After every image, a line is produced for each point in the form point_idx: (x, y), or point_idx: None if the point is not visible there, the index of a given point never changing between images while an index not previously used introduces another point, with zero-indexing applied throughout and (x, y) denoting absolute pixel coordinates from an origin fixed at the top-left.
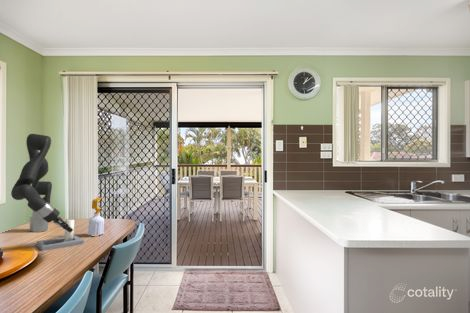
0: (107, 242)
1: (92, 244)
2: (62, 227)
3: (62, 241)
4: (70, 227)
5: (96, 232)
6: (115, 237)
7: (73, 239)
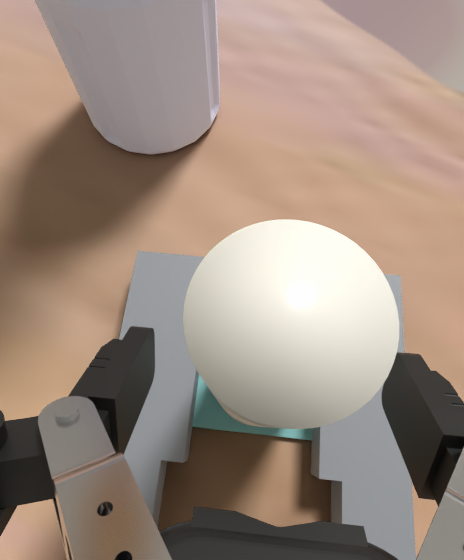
0: (459, 137)
1: (452, 243)
2: (134, 426)
3: (192, 421)
4: (444, 394)
5: (209, 90)
6: (344, 43)
7: None
